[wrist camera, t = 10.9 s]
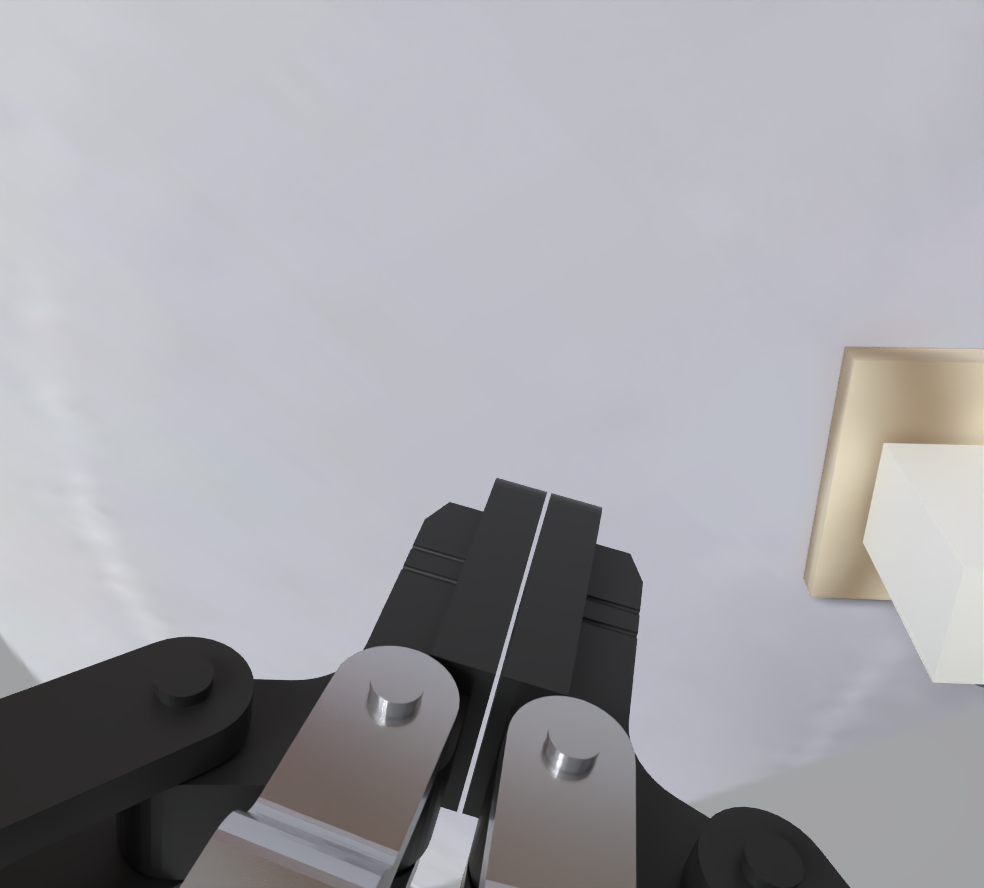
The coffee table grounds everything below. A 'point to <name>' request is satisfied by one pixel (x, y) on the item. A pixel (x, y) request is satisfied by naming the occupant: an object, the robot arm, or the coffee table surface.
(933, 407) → the gauge stand
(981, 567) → the block
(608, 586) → the robot arm
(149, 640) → the coffee table surface
